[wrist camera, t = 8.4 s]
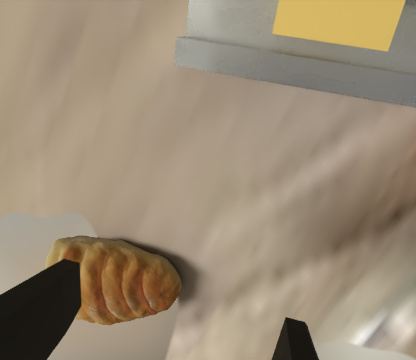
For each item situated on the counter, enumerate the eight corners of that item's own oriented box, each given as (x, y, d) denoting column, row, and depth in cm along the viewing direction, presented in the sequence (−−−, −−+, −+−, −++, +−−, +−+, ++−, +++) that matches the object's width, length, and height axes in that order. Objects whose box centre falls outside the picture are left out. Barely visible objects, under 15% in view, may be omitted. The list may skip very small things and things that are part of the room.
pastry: (176, 232, 23) (157, 268, 19) (190, 308, 25) (176, 352, 22) (56, 230, 25) (20, 263, 21) (80, 300, 28) (52, 339, 24)
